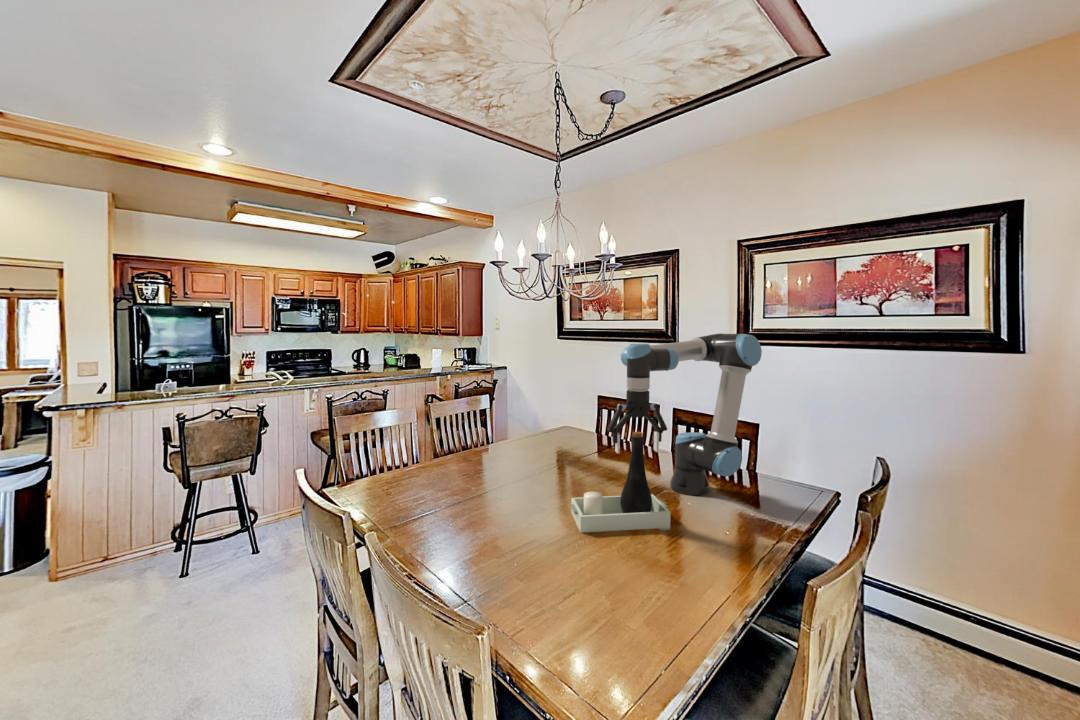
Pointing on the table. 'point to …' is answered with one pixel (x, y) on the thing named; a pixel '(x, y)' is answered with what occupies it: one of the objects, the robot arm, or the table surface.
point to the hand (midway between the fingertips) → (636, 451)
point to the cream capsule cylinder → (593, 503)
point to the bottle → (636, 481)
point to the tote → (620, 516)
